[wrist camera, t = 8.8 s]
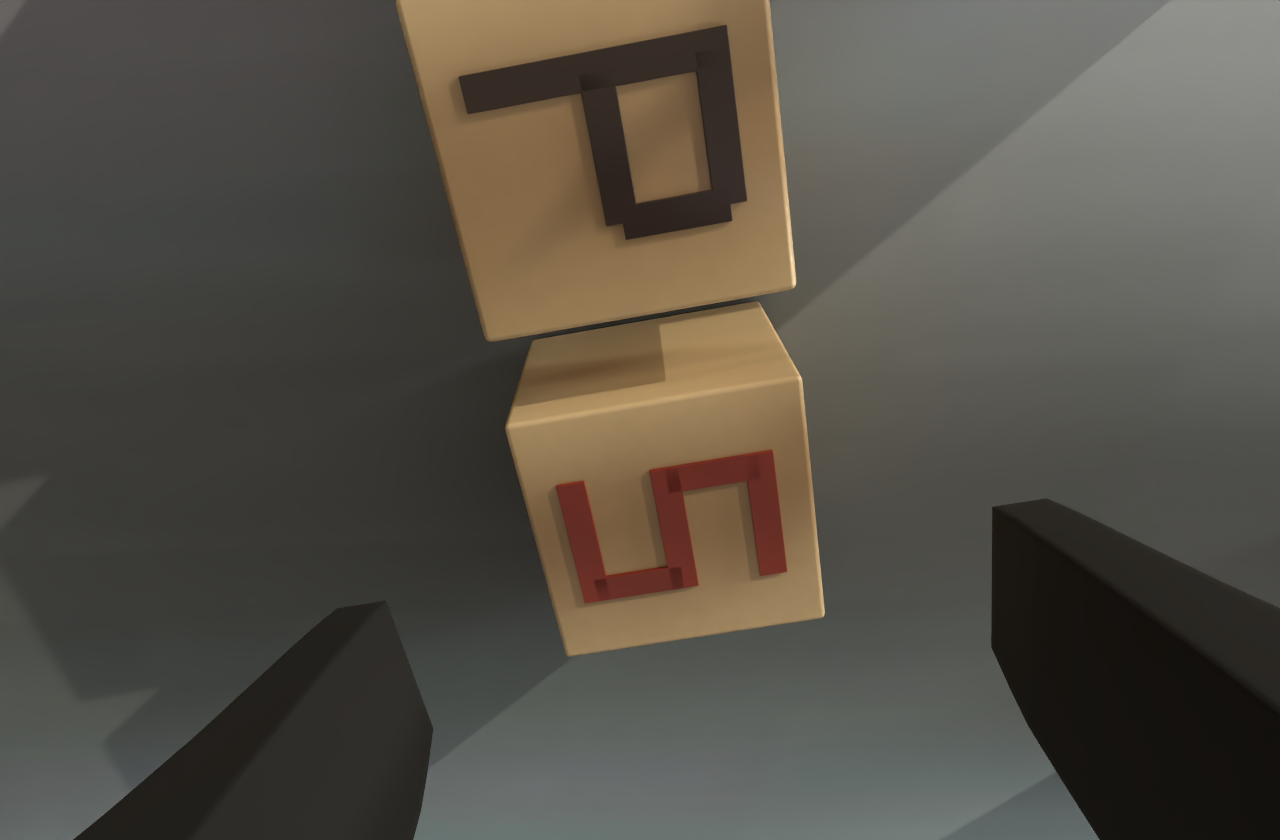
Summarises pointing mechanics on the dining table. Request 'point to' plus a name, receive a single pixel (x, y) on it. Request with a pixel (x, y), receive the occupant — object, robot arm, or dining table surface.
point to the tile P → (605, 154)
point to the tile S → (668, 479)
